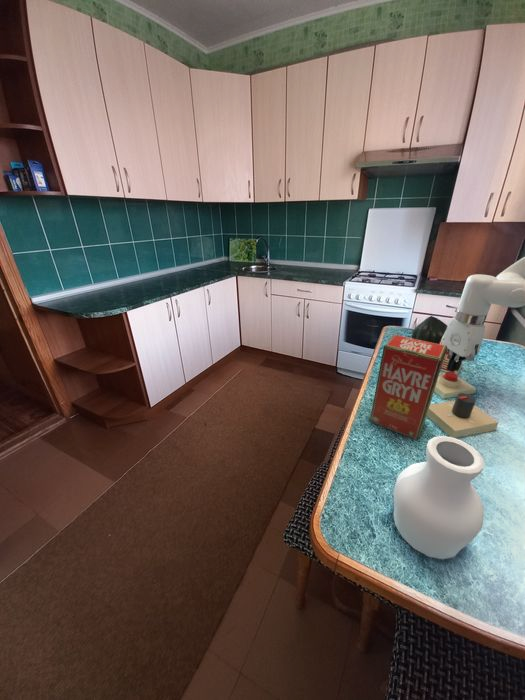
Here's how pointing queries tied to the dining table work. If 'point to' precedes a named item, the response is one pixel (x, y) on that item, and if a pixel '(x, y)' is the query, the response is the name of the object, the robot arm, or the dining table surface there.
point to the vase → (440, 499)
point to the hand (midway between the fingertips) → (452, 369)
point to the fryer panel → (460, 420)
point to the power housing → (452, 387)
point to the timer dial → (463, 405)
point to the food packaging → (406, 384)
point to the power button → (450, 376)
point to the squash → (430, 330)
